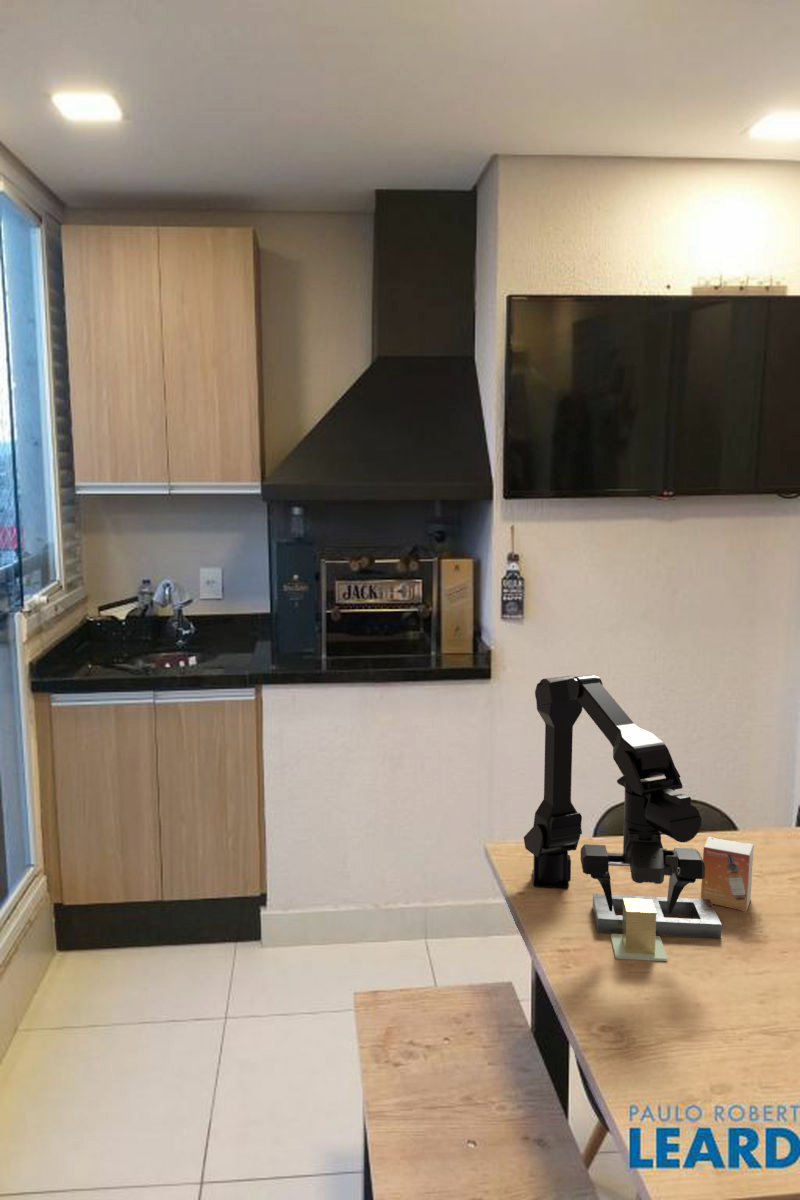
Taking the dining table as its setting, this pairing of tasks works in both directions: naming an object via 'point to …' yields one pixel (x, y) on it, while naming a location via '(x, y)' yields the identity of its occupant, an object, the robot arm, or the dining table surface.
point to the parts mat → (621, 954)
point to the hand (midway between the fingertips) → (639, 911)
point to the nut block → (639, 926)
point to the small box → (727, 873)
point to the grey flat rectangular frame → (699, 927)
